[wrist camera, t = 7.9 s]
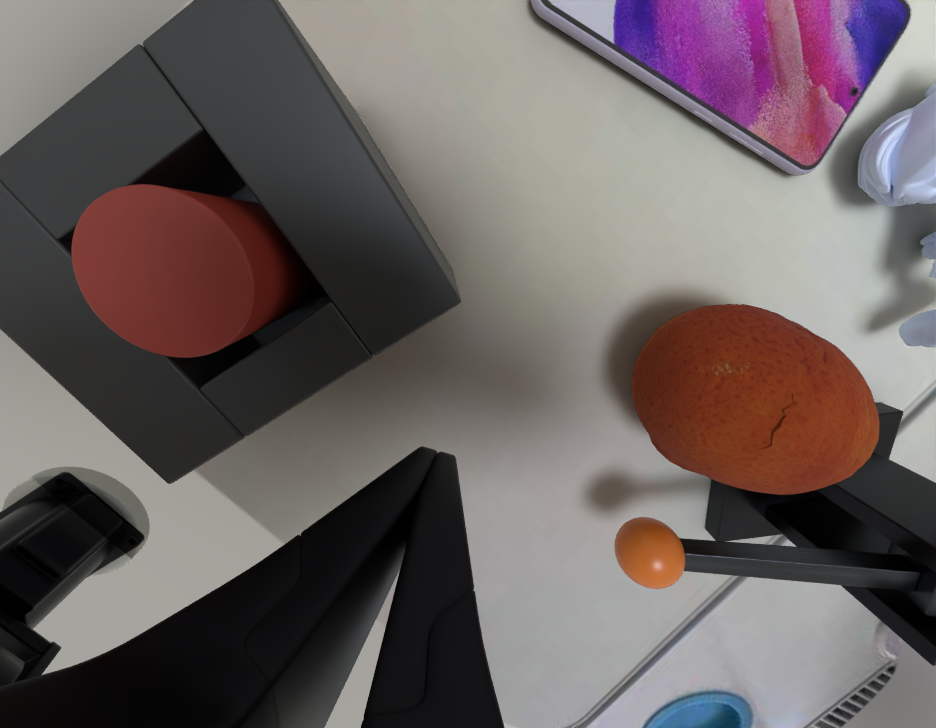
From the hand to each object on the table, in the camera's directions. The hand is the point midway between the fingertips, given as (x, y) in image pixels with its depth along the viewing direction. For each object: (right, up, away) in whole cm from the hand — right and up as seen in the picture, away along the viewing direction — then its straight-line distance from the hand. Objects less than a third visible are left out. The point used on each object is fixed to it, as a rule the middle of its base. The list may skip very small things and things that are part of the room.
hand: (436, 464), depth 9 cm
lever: (+16, -6, +10) cm, 20 cm away
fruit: (+14, +4, +7) cm, 16 cm away
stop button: (-6, +5, +3) cm, 9 cm away
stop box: (-6, +8, +9) cm, 14 cm away
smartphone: (+11, +17, +7) cm, 22 cm away
